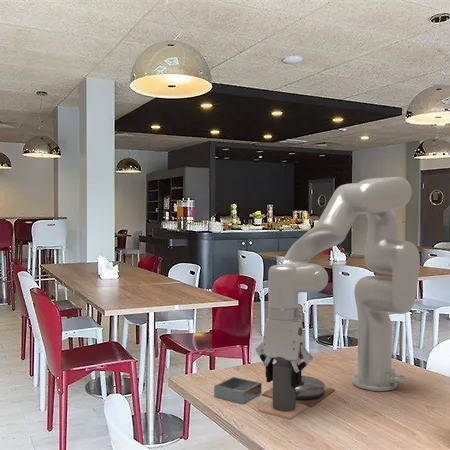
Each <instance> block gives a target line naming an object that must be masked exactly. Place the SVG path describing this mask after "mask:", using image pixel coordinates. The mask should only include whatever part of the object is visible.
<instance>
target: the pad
mask: <svg viewBox="0 0 450 450" xmlns="http://www.w3.org/2000/svg"><path fill="white" fill-rule="evenodd" d="M307 408H308V406H307V405H303V404H299V403H296V407H295V409H294V410H291V411H279V410H276V409H274V408H273V399H272V400H271V401H269V402H267V403H265V404H263V405H262V406H261V407H259V408H258V412H261V413H264V414H268V415H273V416H276V417H280V418H284V419H288V420H292V419H293V418H295V417H296V416H297V415H299V414H300V413H301V412H303V411H305V410H306V409H307Z"/></svg>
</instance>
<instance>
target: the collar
mask: <svg viewBox="0 0 450 450" xmlns="http://www.w3.org/2000/svg"><path fill="white" fill-rule="evenodd" d="M213 390H214V391H213V397H214V398H218V399H221V400H226V401H229V402H234V403H238V404H241V405H244V404H246V403H248V402H249V401H251V400H253V399H254V398H257V397H258V396H259V395H262V394H263V392H262V390H263V389H262V382H259V381H254V380H249V379H246V378H242V377H236V376H232V377H230V378H228V379H226V380H224V381H222V382H220V383H217V384H215V385H214V386H213Z"/></svg>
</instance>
